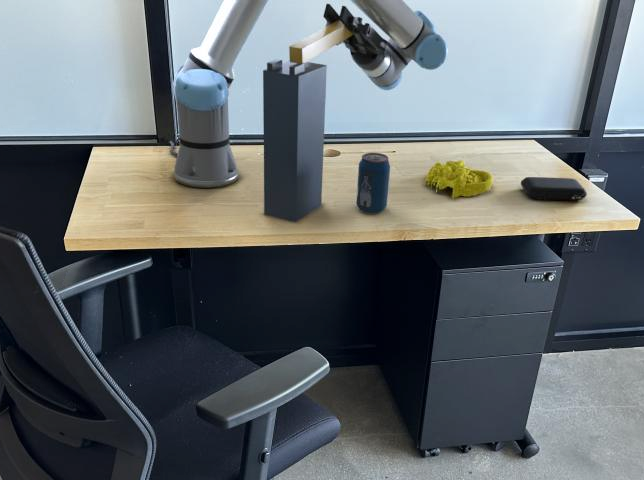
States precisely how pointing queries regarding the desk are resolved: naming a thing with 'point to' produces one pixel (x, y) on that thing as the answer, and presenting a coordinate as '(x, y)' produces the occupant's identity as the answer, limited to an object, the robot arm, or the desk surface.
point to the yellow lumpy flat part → (459, 178)
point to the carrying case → (553, 188)
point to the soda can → (373, 183)
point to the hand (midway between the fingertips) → (334, 11)
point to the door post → (293, 138)
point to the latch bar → (318, 42)
